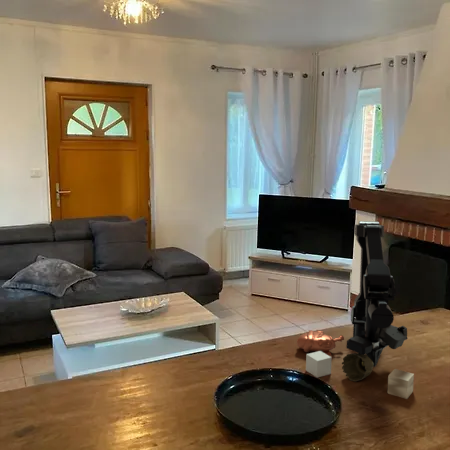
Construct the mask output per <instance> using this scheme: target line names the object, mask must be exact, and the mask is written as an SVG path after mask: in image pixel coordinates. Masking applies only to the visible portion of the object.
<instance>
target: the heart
mask: <svg viewBox="0 0 450 450" xmlns="http://www.w3.org/2000/svg"><path fill="white" fill-rule="evenodd" d="M344 340H345V337H344V335H342V334H340V336H338V337H336V338H333V337H332V336H331V335H329V334H326V333H324V330H318V329H316V330H311V329H309V330H308V331H307V332H304V333H302V334H301V335H299V337H298V338H297V340H296V346H297V347H298V348H300V349H302V350H303V352H305V353H309V352H318V351H321V352H323V353H325V354H327V355H328V356H330V357H332V353H331V352H330V351H331V350H332V351H333V349H336V346H337V345H336V343H338V342H343V341H344Z"/></svg>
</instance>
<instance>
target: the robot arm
mask: <svg viewBox="0 0 450 450" xmlns="http://www.w3.org/2000/svg"><path fill="white" fill-rule="evenodd" d="M384 230H385V225H383V224H380V222H379V221H377V220H376V221H374V220H373V221H370V220H369V221H368V220H367V221H366V220H359V221H358V224H357V223H356V224H354V236H356V242H357V244H358V245H359V247H360V265H359V266H360V268H359V269H360V273H359V293H358V294H357V295H356V297H355V299H354V300H353V301H354V302H353V303H354V305H352V306H351V311H350V322H351V325H353V327H352V328H353V329H352V337H350V338H349V339H347V340H346V347H345V348H346V349H348V350H350V351H352V352H355V353H360V354H365V355H367V356H368V357H369V358H370V359H372V361H373V368H376V366H377V364H378V362H379V359H380V357H381V354H382V352H383V351H384V349H385V348H387V347H389V348H390V349H392V350H396V349H398V348H399V347H403V344H404V341H407V340H408V328H407V327H406V326H404V325H401V326H399V327H398V326H395V325H392V324H393V322H394V320H395V318H394V314H393V312H392V309H391V307H390V305H389V301H395V297H396V295H397V292H396V283H395V279H394V277H393V275H391V270H390V267H389V266H388V265H387V264H386V263H385V260H384V253H383V245H382V238H384V235H385V231H384Z"/></svg>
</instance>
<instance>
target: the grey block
mask: <svg viewBox="0 0 450 450" xmlns="http://www.w3.org/2000/svg"><path fill="white" fill-rule="evenodd" d="M305 357H306V358H305V359H306V360H305V371H306V372H307V373H309V374H311V375H312V376H314V377H315V378H320V377H325V376H329V375H331V374H332V360H333V359H332V358H333V357H332V356H328V355H327V354H325V353H324V351H313V352H310V353H309V352H308V353H306V356H305Z"/></svg>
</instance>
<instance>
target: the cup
mask: <svg viewBox="0 0 450 450" xmlns="http://www.w3.org/2000/svg"><path fill="white" fill-rule="evenodd" d="M342 359H343V361H342V362H341V364H342V366H341V369H342V372H343V373H344V374H345V377H347V378H348V380H349V381H353V382H357V381H362V380H363V379H365V378H366V377H368V376H370V375H371V373H372V372H373V370H374V369H373V368H374V367H373V361H372V359H370V358H369V357H368V356H367V355H366V354H360V353H357V352H355V353H348V354H347V353H346V355H345V356H344V357H343V358H342Z"/></svg>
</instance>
